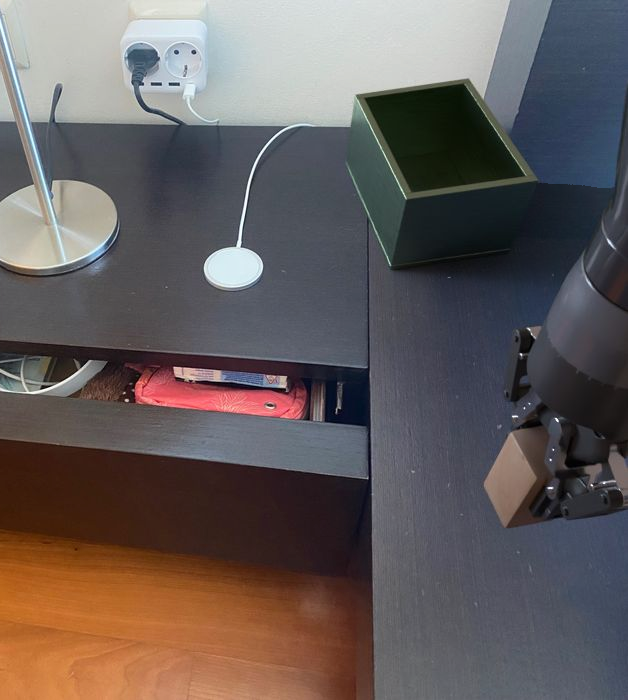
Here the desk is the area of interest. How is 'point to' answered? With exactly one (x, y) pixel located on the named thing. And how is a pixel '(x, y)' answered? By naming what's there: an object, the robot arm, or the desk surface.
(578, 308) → the robot arm
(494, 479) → the wooden block
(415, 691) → the desk surface
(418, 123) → the waste bin
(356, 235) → the desk surface
